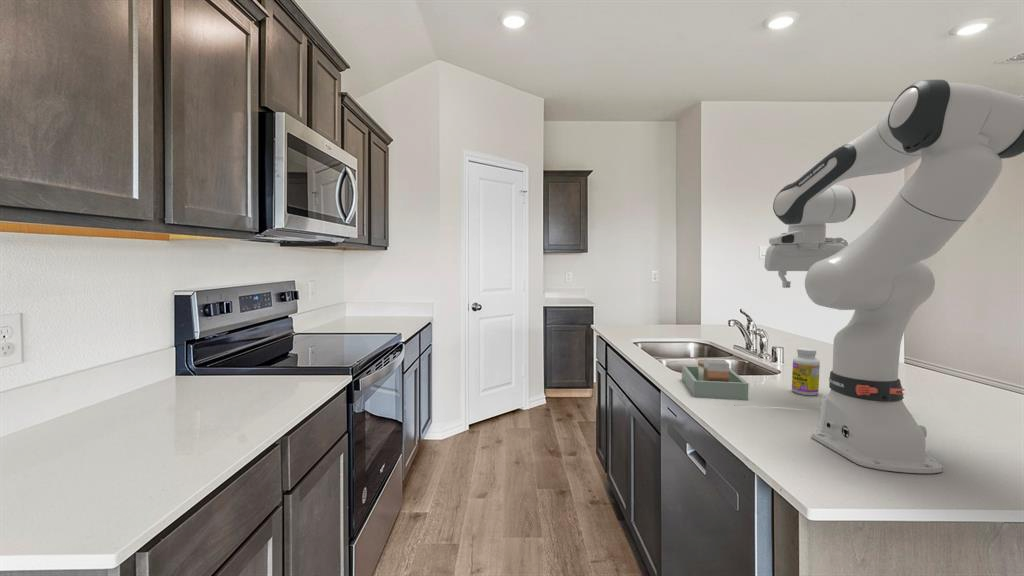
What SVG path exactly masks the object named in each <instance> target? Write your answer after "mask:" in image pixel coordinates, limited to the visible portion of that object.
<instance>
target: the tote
mask: <svg viewBox="0 0 1024 576" xmlns="http://www.w3.org/2000/svg"><path fill="white" fill-rule="evenodd" d="M681 380H682V382H683V384H684V385H685V386H686V389H688V392H689V393H690V394H691V396H692V397H693V398H703V399H705V398H706V399H721V400H724V399H725V400H738V401H739V400H742V401H749V383H748V382H747V381H746V380H744V379H743V378H742V377H741V376H740V375H739V374H737V372H735V371H734V370H733V369H731V368H730V367H729V382H718V381H698V365H697V366H696V365H695V366H694V365H682V366H681Z"/></svg>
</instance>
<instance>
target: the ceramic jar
mask: <svg viewBox="0 0 1024 576" xmlns="http://www.w3.org/2000/svg"><path fill="white" fill-rule="evenodd" d="M697 366H698V381H704V379H703V378H704V359H699V360H697Z"/></svg>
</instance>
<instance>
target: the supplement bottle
mask: <svg viewBox="0 0 1024 576" xmlns="http://www.w3.org/2000/svg"><path fill="white" fill-rule="evenodd" d="M796 353H797V355H796V356H795V357H794V358H793V359H792V375H791V376H792V377H791V378H792V379H791V390H792V392H794V393H795V394H798V395H802V396H803V395H804V396H817V395H818V394H819V390H820V388H819V387H820V366H821V365H820V364H821V362H820V360H819V359H818V358H816V355H817V349H815V348H810V347H797V349H796Z"/></svg>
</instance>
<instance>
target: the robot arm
mask: <svg viewBox="0 0 1024 576" xmlns="http://www.w3.org/2000/svg"><path fill="white" fill-rule="evenodd" d="M1023 153H1024V95H1020V94H1019V95H1016V94H1013V93H1010V92H1007V91H1003V90H998V89H995V88H990V87H988V86H986V85H980V84H974V83H968V82H967V83H966V82H953V81H947V80H945V79H925V80H924V79H922V80H918V81H915V82H914V83H912V84H910V85H909V86H908V87H906V88H905V89H904V90H903V91H901V93H900V94H899V95H898V96H897V97H896V99H895V101H894V102H893V104H892V106H891V108H890V110H888V112H887V113H886V114H885V115H884V116H883V117H882V118H881V119H880V120H878V122H876V123H875V124H874V125H873V126H872V127H870V128H869V129H867V130H866V131H865V132H864V133H862V134H860V135H859V136H858V137H856V138H854V139H852V140H851V141H849V142H847V143H845V144H843V145H841V146H840V147H838V148H836V149H834V150H833V151H832V152H829V154H827V155H826V156H825V157H824V158H823V159H821V160H820V161H818V163H816V164H815V165H814V166H813V167H811V168H810V169H809V170H808V171H807V172H805V174H802V176H800V178H798V179H797V180H796V181H794V182H792V183H790V184H786V185H785V186H784V187H783V188H782V189H781V190H779V192H777V194H776V196H775V197H774V199H773V200H774V201H773V204H772V209H773V213H774V215H775V216H776V218H777V219H779V221H780V222H782V223H783V224H785V225H786V226H787V225H788V226H787V227H788V229H787V230H788V231H787V232H783V233H781V234H779V235H774V236H772V237H770V238H769V239H768V243H769V245H770V246H768V247H767V249H766V252H765V256H764V268H765V270H766V271H767V272H777V273H778V274H777V275H778V277H779V278H780V280H781V281H782V288H784V289H788V288H789V289H790V288H791V284H792V283H791V280H789V281H788V280H787V278H786V276H787V275H788V274H787V273H788V272H806V275H805V277H804V279H805V280H804V287H805V288H804V289H805V292H806V294H807V296H808V298H809V299H810V301H811V302H813V303H814V304H815V305H818V306H821V307H824V308H829V309H834V310H839V311H840V310H841V311H854V313H853V315H852V316H851V319H850V321H849V322H848V323H847V325H845V326H844V327H843V328H842V329H840V330H839V331H837V333H836V334H835V336H834V338H833V348H832V370H831V371H830V372H829V377H828V381H829V385H828V388H829V389H830V390H829V392H828V394H827V395H826V396H825V397H824V398H823V399H822V400H821V406H820V412H819V413H820V414H819V421H818V422H819V424H818V430H815V431H812V432H811V439H813V440H815V441H817V442H819V443H820V444H822V445H824V446H826V447H827V448H828V449H831V450H832V451H834V452H835V453H838V454H839V455H841V456H842V457H844V458H847V459H848V460H849V461H851V462H853V463H854V464H857V465H859V466H861V467H865V468H871V469H876V470H881V471H887V472H888V471H889V472H897V473H906V474H907V473H908V474H909V473H910V474H936V473H938V474H939V473H941V472H943V466H942V464H941V463H939V462H938V461H937V460H936V459H935V458H934V457H932V455H930V453H928V452H927V447H926V446H927V445H926V444H927V443H926V438H927V435H928V433H927V428H926V426H924V425H919V424H918V423H917V421H916V419H915V418H914V417H913V414H911V412H910V411H909V409H908V408H907V406H906V404H905V403H904V401H903V399H904V395H905V392H903V391H905V389H904V388H903V386H902V383H901V380H900V378H899V364H900V354H901V346H902V340H903V337H904V333H905V331H906V329H907V326H908V324H909V323H910V320H911V318H912V317H913V315H914V313H915V311H917V309H918V308H919V307H920V306H921V305H922V304H924V303H925V302H926V301H927V300H929V298H930V297H931V296H932V294H933V293H934V290H935V284H936V283H935V280H936V279H935V276H934V273H933V271H932V269H930V268H929V266H927V265H926V264H924V263H923V262H922V261H925V260H927V259H929V258H931V257H933V256H935V255H936V254H937V253H939V251H940V250H941V249H942V248H943V247H944V246H945V245H946V244H947V243H948V242H949V241H950V239H951V238H952V237H953V236H954V235H955V234H956V233H957V232H958V231H959V230H960V228H962V226H963V225H964V224H965V223H966V222H967V221H968V220H969V218H971V216H973V214H974V213H975V211H976V210H977V209H979V207H980V205H981V204H982V203H983V201H985V198H986V197H987V195H988V194H989V192H990V191H991V190H992V188H993V186H994V185H995V183H996V181H997V180H998V178H999V177H1000V174H1001V173H1002V170H1003V161H1002V160H1003V159H1010V158H1015V157H1017V156H1018V155H1021V154H1023ZM920 159H921V160H920ZM919 160H920V163H919V166H918V168H917V169H916V170H915V171H914V173H913V174H912V175H911V176H910V178H908V180H907V181H906V182H905V184H904V185H903V186H902V187H901V188H900V190H899V191H898V192H897V194H896V195H895V197H894V198H893V199H892V200H891V202H890V203H889V205H888V206H887V207H886V208H885V210H884V211H883V212H882V213H881V215H880V216H879V217H878V219H877V220H876V221H875V222H873V224H872V225H871V226H870V227H869V228H868V229H866V230H864V231H863V233H862V234H861V235H859V236H858V237H856V239H854V240H852V242H850V243H849V242H848V241H847V240H846V239H845V238H844V239H843V237H826V234H827V226H826V225H827V224H836V223H843V222H846V221H847V220H848V219H849V218H851V216H852V215H853V214H854V212H855V209H856V206H857V205H856V204H857V201H856V200H857V199H856V195H855V192H854V191H853V190H852V189H851V188H850V187H848V186H845V185H839V184H838V183H840V182H842V181H843V182H844V181H847V180H849V179H853V178H855V179H856V178H859V177H867V176H874V175H875V176H876V175H883V174H884V175H885V174H890V173H891V174H892V173H895V172H898V171H901V170H903V169H905V168H907V167H909V166H911V165H913V164H914V163H916V162H917V161H919Z"/></svg>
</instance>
